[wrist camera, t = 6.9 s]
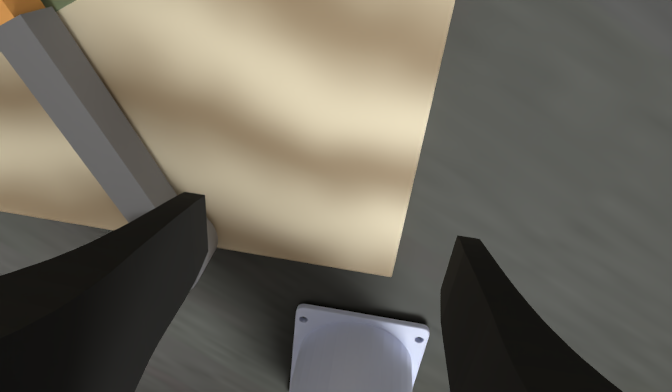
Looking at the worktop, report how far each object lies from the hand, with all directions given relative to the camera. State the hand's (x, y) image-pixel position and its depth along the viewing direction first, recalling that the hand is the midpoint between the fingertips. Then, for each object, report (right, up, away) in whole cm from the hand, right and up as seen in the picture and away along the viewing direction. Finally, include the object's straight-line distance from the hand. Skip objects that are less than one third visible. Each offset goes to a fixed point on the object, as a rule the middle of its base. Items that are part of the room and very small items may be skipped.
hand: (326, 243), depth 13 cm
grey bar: (-10, +4, +8) cm, 13 cm away
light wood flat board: (-7, +5, +9) cm, 12 cm away
